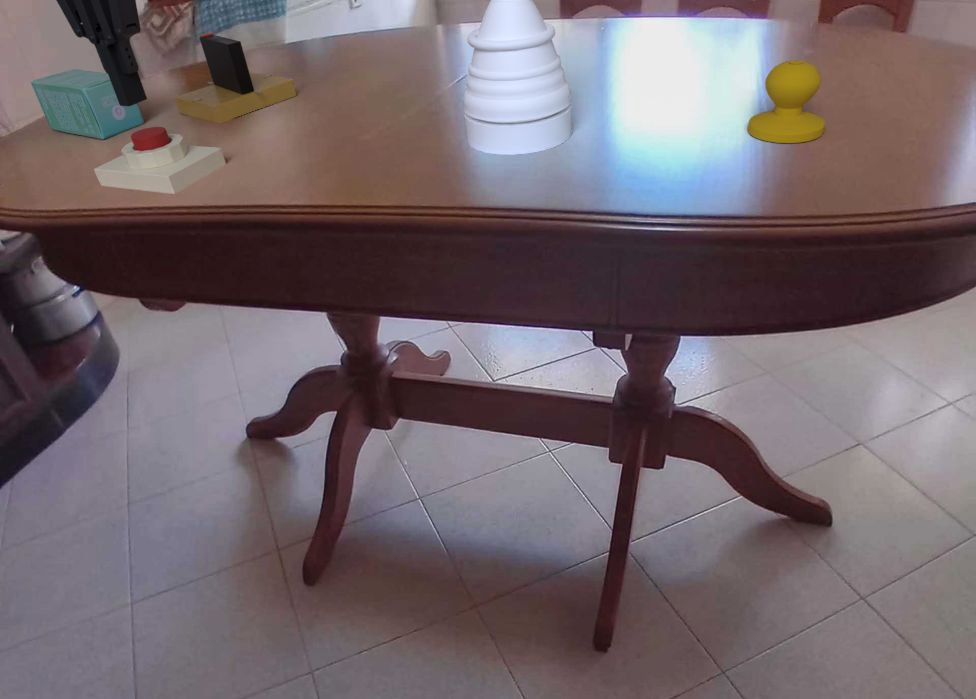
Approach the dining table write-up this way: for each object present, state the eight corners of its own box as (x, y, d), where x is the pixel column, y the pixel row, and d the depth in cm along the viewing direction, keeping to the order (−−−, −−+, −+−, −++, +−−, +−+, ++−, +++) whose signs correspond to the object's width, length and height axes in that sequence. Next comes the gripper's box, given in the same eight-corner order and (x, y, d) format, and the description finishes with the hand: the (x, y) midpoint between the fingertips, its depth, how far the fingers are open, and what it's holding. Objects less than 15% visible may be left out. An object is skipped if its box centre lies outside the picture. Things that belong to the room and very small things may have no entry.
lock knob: (254, 91, 104) (240, 39, 100) (242, 94, 103) (227, 42, 99) (225, 81, 111) (210, 32, 106) (213, 84, 110) (198, 35, 105)
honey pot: (476, 119, 92) (461, -35, 82) (574, 115, 90) (572, -44, 79) (457, 156, 82) (437, -14, 71) (568, 153, 80) (563, -24, 69)
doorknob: (786, 149, 75) (732, 130, 81) (839, 131, 78) (783, 114, 83) (798, 77, 70) (740, 62, 76) (854, 61, 73) (793, 48, 79)
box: (104, 141, 99) (82, 86, 95) (50, 132, 106) (27, 81, 101) (147, 124, 104) (128, 72, 100) (94, 117, 111) (73, 67, 106)
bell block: (100, 186, 85) (86, 154, 83) (155, 158, 91) (143, 128, 89) (174, 194, 80) (162, 161, 78) (226, 164, 87) (216, 133, 85)
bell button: (128, 151, 83) (122, 137, 82) (153, 139, 86) (148, 125, 85) (153, 154, 82) (148, 139, 81) (178, 141, 85) (172, 127, 83)
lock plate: (225, 125, 100) (219, 106, 99) (173, 112, 108) (167, 95, 107) (303, 96, 109) (299, 79, 107) (250, 86, 116) (245, 70, 115)
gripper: (121, -156, 67) (199, 95, 81) (29, -145, 72) (118, 90, 86) (55, -152, 62) (151, 116, 76) (-40, -141, 66) (67, 109, 80)
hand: (133, 102), depth 81 cm, fingers closed
